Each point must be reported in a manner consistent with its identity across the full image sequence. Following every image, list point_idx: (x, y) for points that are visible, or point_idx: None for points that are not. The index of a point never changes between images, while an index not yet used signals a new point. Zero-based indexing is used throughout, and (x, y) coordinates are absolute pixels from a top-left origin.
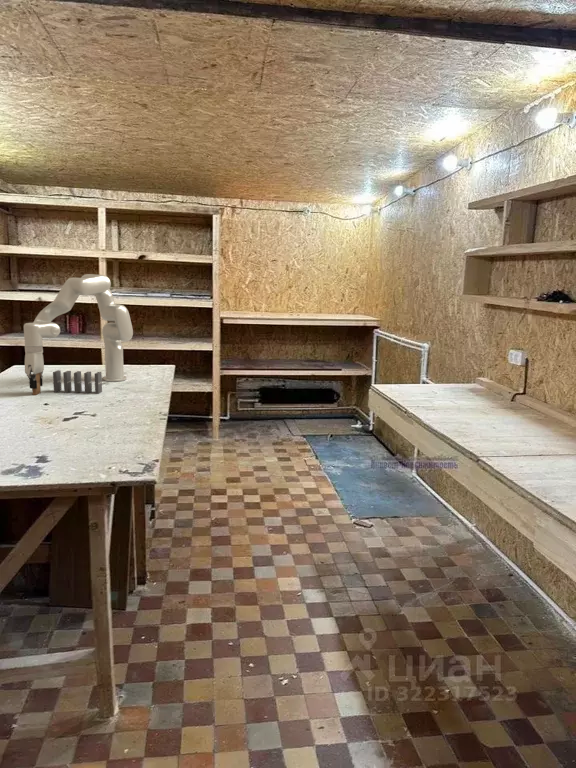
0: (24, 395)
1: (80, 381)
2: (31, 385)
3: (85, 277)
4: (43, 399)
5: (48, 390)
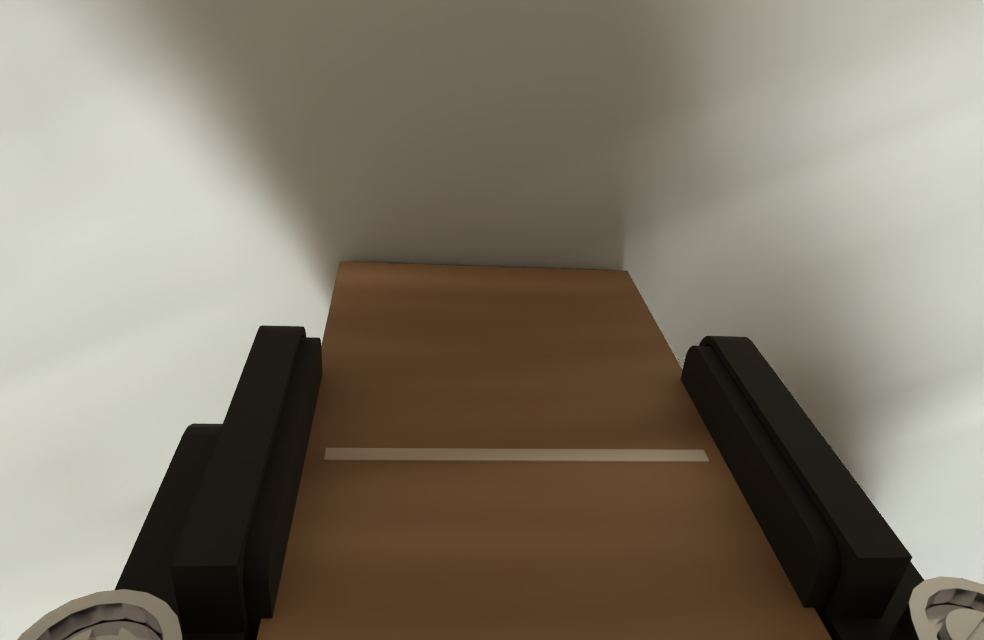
0: (294, 38)
1: None
2: (179, 479)
3: None
4: (27, 591)
5: (910, 380)
